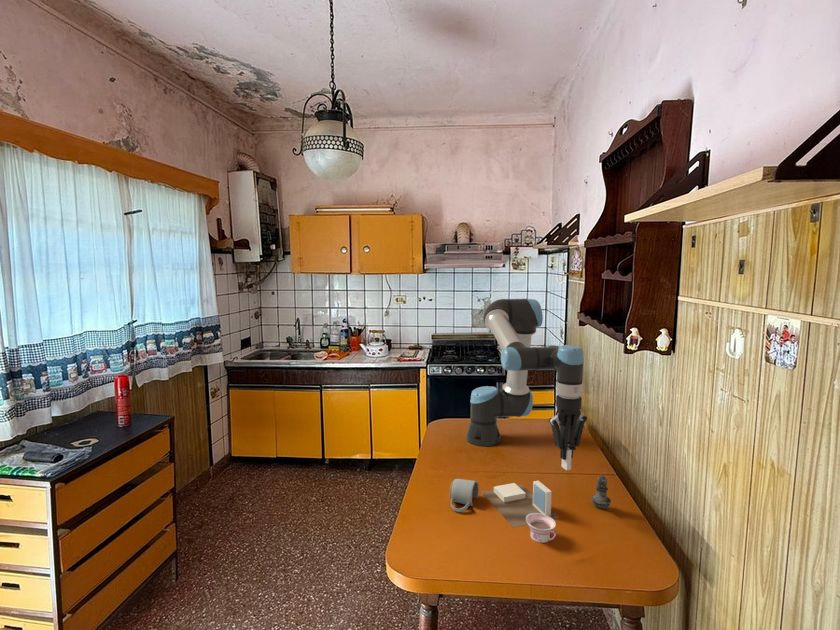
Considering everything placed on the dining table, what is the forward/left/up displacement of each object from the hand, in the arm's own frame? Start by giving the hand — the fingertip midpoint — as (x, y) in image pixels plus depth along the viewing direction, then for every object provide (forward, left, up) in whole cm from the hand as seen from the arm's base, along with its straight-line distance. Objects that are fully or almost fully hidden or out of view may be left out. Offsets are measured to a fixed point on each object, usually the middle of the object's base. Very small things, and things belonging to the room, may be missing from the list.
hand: (566, 468), depth 136 cm
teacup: (+11, -16, -14) cm, 24 cm away
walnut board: (-6, -13, -14) cm, 20 cm away
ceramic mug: (-13, -29, -14) cm, 35 cm away
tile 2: (0, -8, -13) cm, 15 cm away
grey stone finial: (+4, +11, -14) cm, 18 cm away
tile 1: (-11, -9, -12) cm, 19 cm away
